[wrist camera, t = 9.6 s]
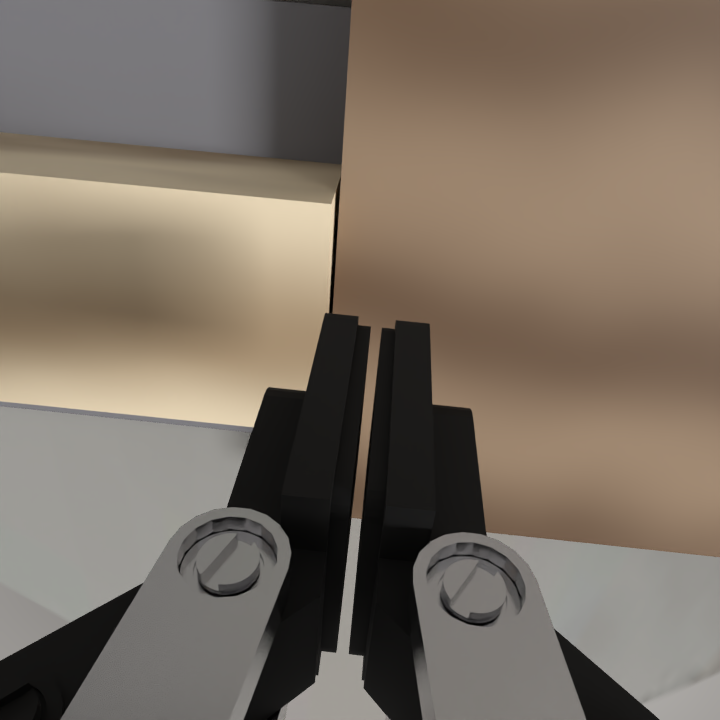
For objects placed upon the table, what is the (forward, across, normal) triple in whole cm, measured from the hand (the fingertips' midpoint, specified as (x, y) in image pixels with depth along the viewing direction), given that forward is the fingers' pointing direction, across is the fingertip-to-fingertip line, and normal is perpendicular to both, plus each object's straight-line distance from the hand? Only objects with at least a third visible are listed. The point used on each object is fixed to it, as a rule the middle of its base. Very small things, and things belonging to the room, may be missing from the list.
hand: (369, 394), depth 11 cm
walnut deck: (+7, -7, +1) cm, 10 cm away
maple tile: (+7, +6, +2) cm, 9 cm away
